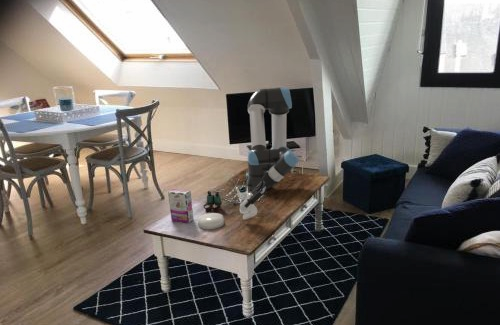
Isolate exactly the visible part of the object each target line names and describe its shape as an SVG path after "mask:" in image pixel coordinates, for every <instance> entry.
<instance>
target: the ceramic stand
mask: <svg viewBox="0 0 500 325" xmlns="http://www.w3.org/2000/svg"><path fill="white" fill-rule="evenodd" d="M224 224H225V220H224V215H223V214H222V213H219V212H217V213H214V212H206V213H204V214H202V215H200V216H199V217H198V219H197V227H198V228H200V229H202V230H215V229H218V228H221V227H223V226H224Z"/></svg>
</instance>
